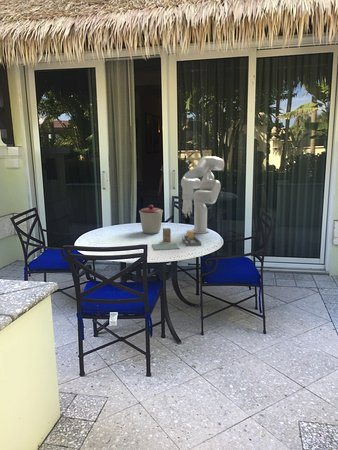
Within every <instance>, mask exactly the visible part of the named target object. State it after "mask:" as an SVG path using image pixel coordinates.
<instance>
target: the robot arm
mask: <svg viewBox="0 0 338 450" xmlns="http://www.w3.org/2000/svg"><path fill="white" fill-rule="evenodd" d="M224 168H225V161H224V160H223V159H222V158H220V157H218V156H202V157H201V158H200V159H199V160H198V163H197V164H196V166H195V167H194V168H192V169H190V170H189V171H187V172H185V174H183V177H182V179H181V181H180V186H181V188H182V198H181V199H182V200H183V201H182V209H181V210H182V212H181V213H183V214H184V223H185V224H190V223H191V215H192V214H193V213H194V214H193V215H194V219H193V220H194V224H193V226H194V227H193V229H192V230H193V231H194V234H206V233H209V229H208V207H207V205H206V204H211V205H213V204H215V203H216V202H217V199H218V197H219V194H220V191H221V182H220V180H217V179H215V175H214V174H213V172H212V171H222V170H223V169H224ZM201 177H202V179H199V178H201ZM195 190H196V191H195ZM193 204H194V209H193ZM193 210H194V212H193Z"/></svg>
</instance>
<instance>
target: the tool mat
mask: <svg viewBox="0 0 338 450" xmlns="http://www.w3.org/2000/svg"><path fill="white" fill-rule="evenodd" d="M151 246H152V247H153V250H154V251H163V250H164V251H168V250H180V247H179V245H178V244H177V242H173V243H172V242H169V243H153V244H151Z"/></svg>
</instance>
